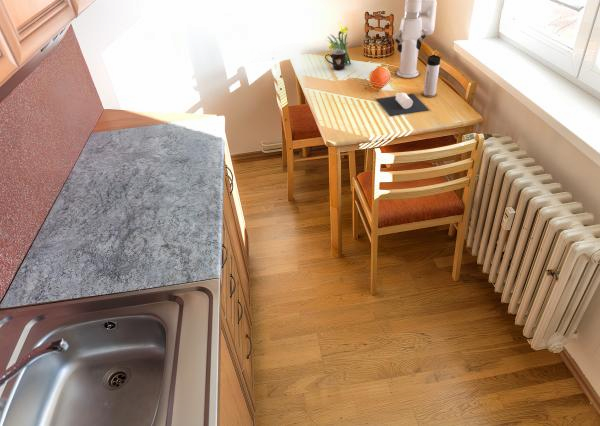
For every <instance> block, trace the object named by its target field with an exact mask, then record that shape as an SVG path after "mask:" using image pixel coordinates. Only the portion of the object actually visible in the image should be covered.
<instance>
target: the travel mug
mask: <svg viewBox="0 0 600 426" xmlns="http://www.w3.org/2000/svg"><path fill="white" fill-rule="evenodd" d="M440 66H441V56H439V55H436V54H431V55H429V56H428V57H427V62H426V69H425V78H424V85H423V96H424V97H426V98H433V97H435V96H436V94H437V86H438V80H439V74H440Z"/></svg>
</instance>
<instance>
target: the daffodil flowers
mask: <svg viewBox="0 0 600 426" xmlns="http://www.w3.org/2000/svg"><path fill="white" fill-rule="evenodd" d="M342 24H343V22H341V23H340V21H338V25H339V29H340V30H339V31H338V35H337V36H338V37H335V36H334V35H333V34H330V36H327V39H326V41H327V42H328V43H330V45H328V49H329V50H332V51H333V50H338V49H341V50H345V51H346V54H345V63H344V65H345V66H347V65H351V64H352V61H351V59H350V56H349V53H348V50H347V45H348V43H349V41H347V40H349V37H347V36H348V31H349V29H348V27H347V26H345V27H343V25H342ZM331 37H332V39H333V40H332V39H331ZM328 39H329V40H328ZM337 39H338V40H337Z"/></svg>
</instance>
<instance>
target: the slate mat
mask: <svg viewBox="0 0 600 426" xmlns="http://www.w3.org/2000/svg"><path fill="white" fill-rule="evenodd" d="M407 95H408V97H409V98H410V99H411V100H412V101H413V104H412V106H411V107H410V108H408V109H404V108H403V107H402V106H401V105H400V104H399V103H398V102H397V101H396V100H395V99H396V95H394V96H386V97H380V98H376V101H377V102H378V103H379V104H380V105H381V107H382V108H383V109H384V110H385V111H386V113H387V114H388V115H389V116H390V117H393V116H399V115H405V114H413V113H419V112H420V113H421V112H426V111H427V112H428V111H430V109H429V108H428V107H427V106H426V105H425V104H424V103H423V102H422V101H421V100H420V99H419V98H418V97H417V96H416V95H415V94H413V93H407Z"/></svg>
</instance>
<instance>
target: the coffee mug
mask: <svg viewBox="0 0 600 426" xmlns="http://www.w3.org/2000/svg"><path fill="white" fill-rule="evenodd" d="M330 53H331V54H330ZM330 53H327V54H325V56H324V59H325V60H326V61H327V62H328V63H329V64H331V65H332V69H333V70H334V71H342V70H344V69H345V54H346V51H345V50H341V49H338V50H333V49H332V50H331V52H330ZM327 56H330V57H331V60H332V61H330V60H328V59H327Z"/></svg>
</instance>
